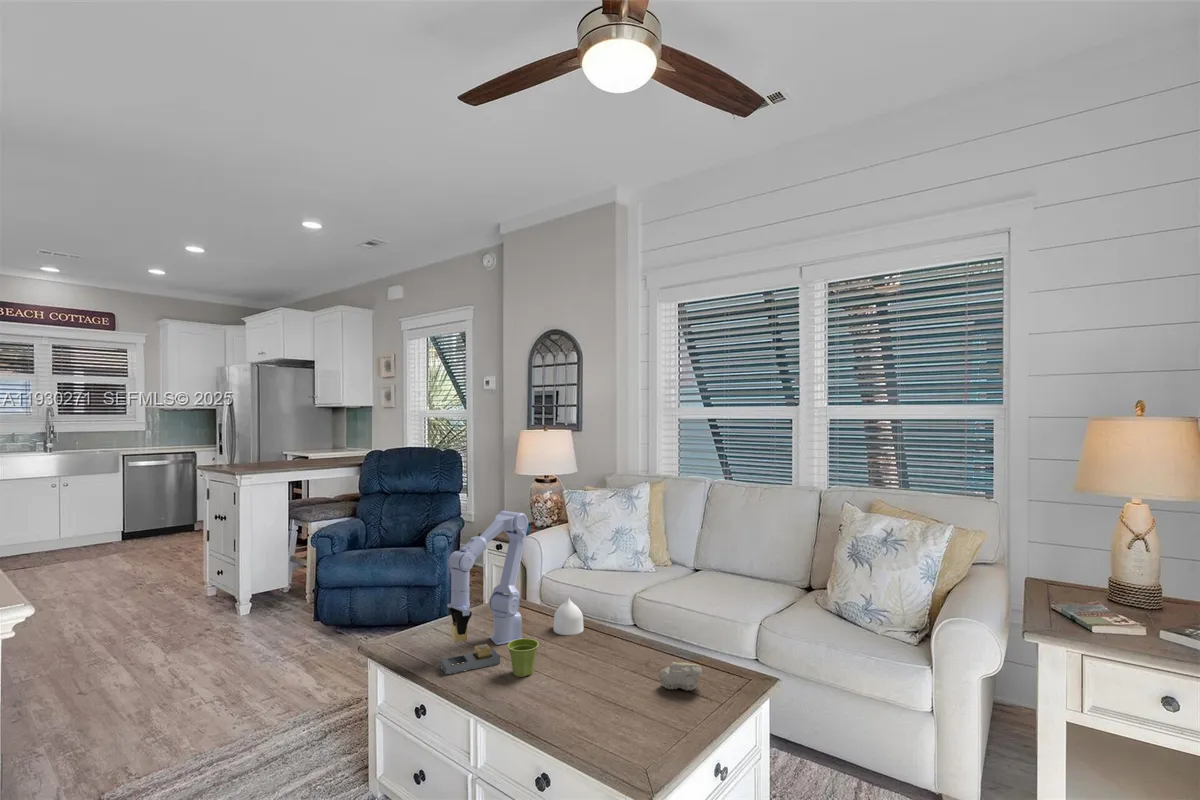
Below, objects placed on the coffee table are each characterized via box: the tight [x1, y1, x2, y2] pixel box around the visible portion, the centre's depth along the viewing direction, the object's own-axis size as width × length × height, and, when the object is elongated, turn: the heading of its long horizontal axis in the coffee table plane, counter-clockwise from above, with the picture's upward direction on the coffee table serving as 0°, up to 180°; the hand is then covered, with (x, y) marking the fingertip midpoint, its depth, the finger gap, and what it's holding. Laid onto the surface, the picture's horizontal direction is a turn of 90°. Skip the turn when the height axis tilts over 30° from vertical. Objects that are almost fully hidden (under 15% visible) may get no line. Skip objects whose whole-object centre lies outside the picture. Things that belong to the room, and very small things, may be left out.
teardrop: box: [552, 596, 585, 636], centre depth 219 cm, size 11×11×12 cm
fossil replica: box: [657, 661, 703, 692], centre depth 173 cm, size 12×8×10 cm
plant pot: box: [507, 638, 540, 678], centre depth 183 cm, size 9×9×9 cm
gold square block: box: [451, 621, 468, 643], centre depth 193 cm, size 4×4×5 cm
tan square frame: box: [474, 643, 492, 660], centre depth 190 cm, size 4×4×5 cm
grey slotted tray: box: [439, 648, 501, 675], centre depth 188 cm, size 17×7×2 cm, turn 119°
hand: (459, 631), depth 193 cm, fingers closed on gold square block, 4 cm apart
